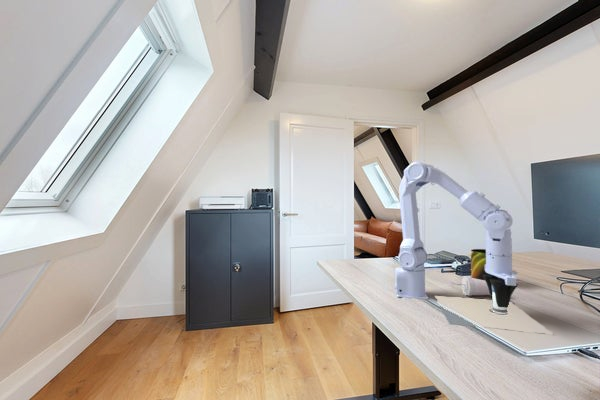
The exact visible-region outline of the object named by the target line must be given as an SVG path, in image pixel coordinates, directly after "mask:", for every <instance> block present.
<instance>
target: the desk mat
mask: <svg viewBox="0 0 600 400" xmlns="http://www.w3.org/2000/svg"><path fill="white" fill-rule="evenodd" d="M510 302H512V303H514V301H512V300H510ZM438 307H439V309H440V310H441V312H442V313H443V315H444V317H445V318H446V320H447V323H448V324H449V325H454V326H464V327H470V328H471V327H473V328H477V327H476V326H475V325H473V324H472V323H470V322H468V321H466V320H464V319H463V318H461V317H459V316H458V315H456V314H454V313H452V312H450V311H448V310H446V309H444V308H443V307H441V306H439V305H438Z"/></svg>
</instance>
